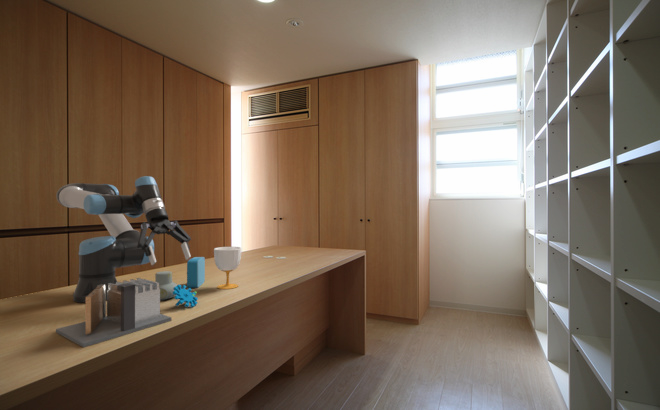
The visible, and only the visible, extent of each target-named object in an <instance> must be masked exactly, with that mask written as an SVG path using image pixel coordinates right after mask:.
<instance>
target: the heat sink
mask: <svg viewBox="0 0 660 410" xmlns="http://www.w3.org/2000/svg"><path fill="white" fill-rule="evenodd" d="M126 283H130V284H134V285H135V324H139V323H142V322H146V321H149V320H153V319H156V318H159V317H160V314H161V300H160V289H159V283H158V282H155V281H153V280H150V279H145V278H141V277H138V278H136V279H133V278H132V279H129V280H122V282H121V281H117V282H116V284H113V283H108V290H107V300H106V316H107V319H108V320H111V321H113V322H116V323H118V324H121V291H118V290H117V285H120V284H126Z"/></svg>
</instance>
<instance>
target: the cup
mask: <svg viewBox="0 0 660 410" xmlns="http://www.w3.org/2000/svg"><path fill="white" fill-rule="evenodd" d="M213 256H214V264H215V266H216V267H217V269H218V270H219V271H221V272H224V273H225V275H226V280H225V281H226V283H224V284H220V285H217V286H216V288H217V289H219V290H232V289H237V288H238V287H239V284H236V283H230V272H233V271H235V270H236V269H237V268H238V266H239V265H240V263H241V257H242V247H240V246H221V247H220V246H219V247H214V249H213Z"/></svg>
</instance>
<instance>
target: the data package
mask: <svg viewBox="0 0 660 410" xmlns="http://www.w3.org/2000/svg"><path fill="white" fill-rule="evenodd" d="M205 261H206V258H205V257H204V256H195V257H192V258H189V259H188V260H187V264H186V284H187V285H186V288H187V289H188V288H191V289H192V288H193V289H195V288H196V289H197V288H199V287H201V286H202V285H203V284H204V283H205V278H206V277H205V276H206V275H205V274H206V265H205V264H206V262H205Z"/></svg>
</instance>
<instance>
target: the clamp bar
mask: <svg viewBox="0 0 660 410" xmlns="http://www.w3.org/2000/svg"><path fill="white" fill-rule="evenodd" d="M106 316H107V300H106V284H101V285H97V288H96V289H94V290H93V291H92V292H91V293H90V294H89V295H88V296H86V303H85V321H86V334H91V333H92V331H93V330H94V329H95V328H96V326H97V325H98V324H99V323H100V321H101V320H102V319H103V318H105V317H106Z"/></svg>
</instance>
